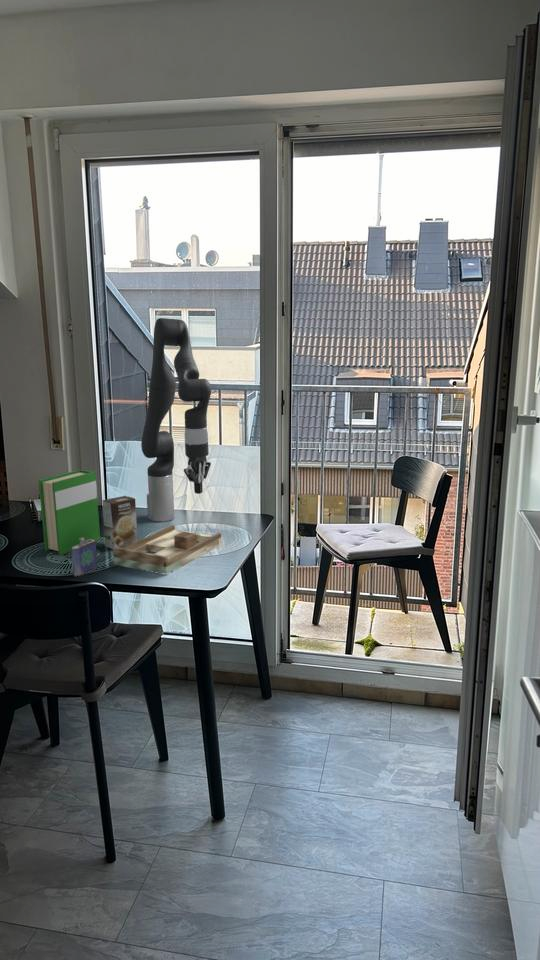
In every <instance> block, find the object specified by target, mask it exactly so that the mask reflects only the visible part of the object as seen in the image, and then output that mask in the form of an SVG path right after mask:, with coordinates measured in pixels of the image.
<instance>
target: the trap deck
mask: <svg viewBox="0 0 540 960" xmlns="http://www.w3.org/2000/svg"><path fill="white" fill-rule="evenodd" d="M175 526H176V525H173V524H172V525H170V526H167V527H165V528H163V529H161V530H158V531H157V532H155V533H152V534H150V535H148V536H146V537H144V538H141V539H140V540H137V542H135V543H133V544H131V545H128V546H126V547H124V548H119V547H114V548H113V549H112V550H113V564H114V565H115V566H121V567H125V568H129V569H135V570H139V569H140V571H144V570H146V571H145V572H149V571H153V572H158V573H165V574H167V573H169V572H171V571H173V570H175V569H177V570H178V568H179V567H180V568H182V567H184V566H186V565H188V564H189V563H191V562H193V561H195V560H196V559H198V558H200V557H202V556H204V555H206V554H207V553H209V552H210V551H212V550H214V549H217V548H218V547H219V546H221V545H222V532H217V533H215V534H213V535H211V534H210V535H209V534H205V533H196V532H194V533H195V534H196V545H194V546H193V547H191V548H189V549H187V550H185V549H179V548H175V544H174V536H175V535H177V534H179V533H181V532H187V531H185V530H178V529H175ZM188 532H189V533H193V532H192V531H188ZM149 551H150V553H149ZM155 552H156V553H155ZM185 564H186V565H185ZM183 565H184V566H183ZM181 566H182V567H181ZM180 568H179V569H180ZM175 571H176V570H175ZM153 572H152V573H153ZM173 572H174V571H173ZM158 573H157V574H158ZM171 573H172V572H171Z"/></svg>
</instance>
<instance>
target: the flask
mask: <svg viewBox="0 0 540 960" xmlns="http://www.w3.org/2000/svg"><path fill="white" fill-rule="evenodd" d="M81 538H82V537H81ZM81 538H80V539H81ZM80 539H79V540H80ZM96 544H97V541H95V540H92V539H91V540H87V541H85V539H84V538H82V539H81V541H80V544H78V545H76V546H74V547H72V550H71V555H72V568H73V569H72V570H73V576H74V577H77V576H78V577H82V576H84V575H85V574H88V573H89V572H92V571H94V570H96V568H97V569H98V561H97V559H98V556H97V545H96ZM93 569H94V570H93ZM91 570H92V571H91ZM87 572H88V573H87ZM81 575H82V576H81Z"/></svg>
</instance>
